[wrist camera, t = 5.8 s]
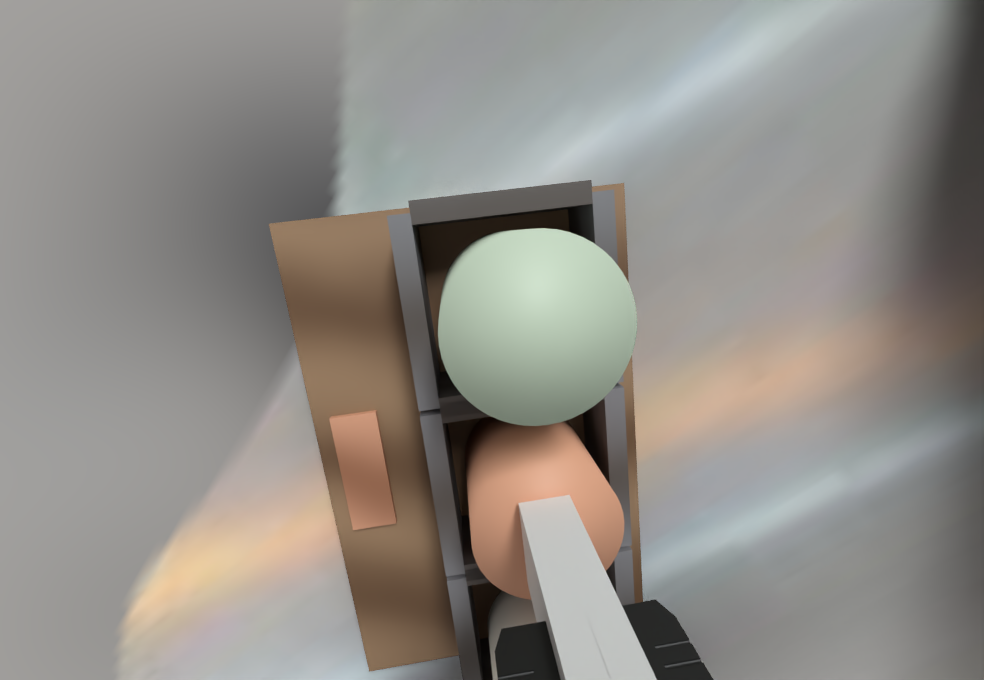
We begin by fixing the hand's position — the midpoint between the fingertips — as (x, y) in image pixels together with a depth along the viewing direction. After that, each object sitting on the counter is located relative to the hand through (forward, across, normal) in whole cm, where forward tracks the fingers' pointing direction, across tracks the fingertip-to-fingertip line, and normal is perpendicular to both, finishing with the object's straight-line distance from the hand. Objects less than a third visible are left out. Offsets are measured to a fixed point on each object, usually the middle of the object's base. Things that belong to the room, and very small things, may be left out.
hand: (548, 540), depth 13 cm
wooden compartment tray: (+7, -1, 0) cm, 8 cm away
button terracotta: (+5, 0, 0) cm, 5 cm away
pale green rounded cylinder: (+4, 0, +6) cm, 7 cm away
